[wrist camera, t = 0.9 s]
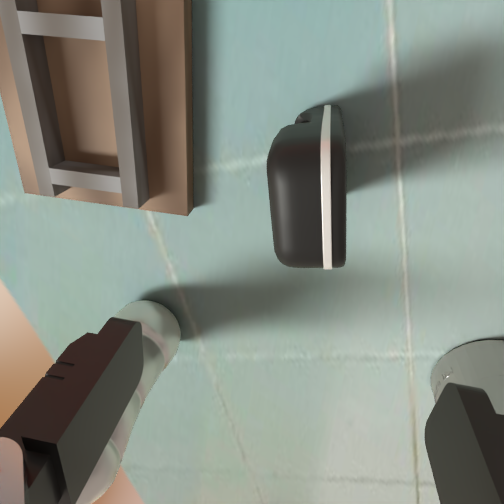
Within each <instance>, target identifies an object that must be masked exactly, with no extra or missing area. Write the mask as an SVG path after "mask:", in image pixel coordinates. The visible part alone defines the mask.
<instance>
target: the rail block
mask: <svg viewBox="0 0 504 504" xmlns="http://www.w3.org/2000/svg"><path fill="white" fill-rule="evenodd" d="M0 93H1V97H2V101H3V106H4V110H5V114H6V118H7V122H8V126H9V130H10V134H11V138H12V143H13V147H14V151H15V155H16V159H17V163H18V167H19V171H20V176H21V180H22V184H23V188H24V192H25V193H29V194H36V195H43V196H50V197H57V198H64V199H71V200H78V201H85V202H92V203H99V204H106V205H113V206H120V207H127V208H134V209H141V210H148V211H156V212H163V213H170V214H177V215H184V216H188V215H189V214H190V212H191V211H192V210H193V107H192V0H0Z"/></svg>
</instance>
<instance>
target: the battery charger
mask: <svg viewBox="0 0 504 504" xmlns="http://www.w3.org/2000/svg"><path fill="white" fill-rule="evenodd" d="M267 178H268V189H269V200H270V211H271V221H272V231H273V241H274V250H275V253H276V255H277V258H278V260H279V261H280V262H281V263H282V264H284V265H286V266H288V267H295V268H324V269H332V268H338V267H342V266H344V264H345V261H346V142H345V134H344V126H343V120H342V113H341V108H340V107H339V106H331V105H324V107H315V108H312V109H309V110H306V111H304V112H302V113H301V114H300V115H299V116H298V117H297V119H296V121H295V124H292V125H288V126H286V127H284V128H282V129H281V130H280V131H279V133H278V134H277V136H276V137H275V138H274V140H273V142H272V145H271V148H270V151H269V155H268V158H267Z"/></svg>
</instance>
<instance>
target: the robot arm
mask: <svg viewBox="0 0 504 504" xmlns="http://www.w3.org/2000/svg"><path fill="white" fill-rule="evenodd" d="M143 366H144V357H143V338H142V325H141V323H140V322H137V321H132V320H127V319H121V318H116V317H112V318H110V319H109V320H108V321H107V322H106V324H105V325H104V326H103V328H102V329H101V330H100V332H99V333H98V334H93V333H86V334H85V335H83V336H82V337H80V338H79V339H77V340H76V341H74V342H73V343H71V344H69V346H68V347H67V348H66V349H65V351H64V352H63V353H62V354H61V355H60V357H59V358H58V359H57V360H56V363H55V364H53V365H52V367H51V368H50V369H49V370H48V371H47V372H46V374H45V377H42V379H41V380H40V381H39V382H38V384H37V385H36V386H35V387H34V388H33V390H32V391H31V392H30V393H29V394H28V396H27V397H26V398H25V399H24V400H23V402H22V403H21V404H20V405H19V407H18V408H17V409H16V410H15V412H14V413H13V414H12V415H11V416H10V418H9V419H8V420H7V421H6V422H5V424H4V425H3V426H2V427H1V429H0V504H76V502H77V500H78V498H79V496H80V494H81V493H82V491H83V489H84V487H85V485H86V483H87V481H88V479H89V477H90V476H91V474H92V472H93V470H94V468H95V466H96V464H97V462H98V460H99V458H100V457H101V455H102V453H103V451H104V449H105V447H106V445H107V443H108V441H109V439H110V438H111V436H112V434H113V432H114V430H115V428H116V426H117V424H118V422H119V421H120V419H121V417H122V415H123V413H124V411H125V409H126V407H127V405H128V403H129V402H130V400H131V398H132V396H133V394H134V392H135V390H136V388H137V386H138V384H139V382H140V379H141V376H142V372H143ZM431 387H432V390H433V394H434V398H435V403H436V404H435V406H434V408H433V410H432V412H431V414H430V416H429V418H428V420H427V422H426V427H425V444H426V449H427V453H428V457H429V461H430V465H431V468H432V472H433V476H434V480H435V484H436V488H437V492H438V496H439V500H440V504H504V340H484V341H476V342H472V343H468V344H465V345H462V346H460V347H458V348H455V349H453V350H452V351H450V352H449V353H447V354H446V355H444V356H443V357H442V358H441V359H440V360H439V361H438V362H437V364H436V365H435V367H434V369H433V371H432V375H431Z"/></svg>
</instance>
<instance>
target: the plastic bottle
mask: <svg viewBox="0 0 504 504" xmlns="http://www.w3.org/2000/svg"><path fill="white" fill-rule="evenodd" d="M114 317H116V318H121V319H127V320H132V321H137V322H140V323H141V325H142V338H143V357H144V366H143V372H142V376H141V379H140V382H139V384H138V386H137V388H136V390H135V392H134V394H133V396H132V398H131V400H130V402H129V403H128V405H127V407H126V409H125V411H124V413H123V415H122V417H121V419H120V421H119V422H118V424H117V426H116V428H115V430H114V432H113V434H112V436H111V438H110V439H109V441H108V443H107V445H106V447H105V449H104V451H103V453H102V455H101V457H100V458H99V460H98V462H97V464H96V466H95V468H94V470H93V472H92V474H91V476H90V477H89V479H88V481H87V483H86V485H85V487H84V489H83V491H82V493H81V494H80V496H79V498H78V500H77V502H76V504H91V503H93V502H94V501H96V500H97V499H98V498H100V497H101V496H102V495H103V494H104V492H106V490H107V489H108V488H109V487H110V486H111V484H112V483H113V481H114V479H115V477H116V474H117V472H118V469H119V467H120V463H121V461H122V458H123V455H124V452H125V449H126V446H127V443H128V440H129V437H130V434H131V431H132V428H133V426H134V423H135V421H136V419H137V417H138V414H139V412H140V409H141V407H142V405H143V403H144V401H145V398H146V397H147V395H148V393H149V392H150V390H151V388H152V387H153V385H154V384H155V382H156V380H157V379H158V377H159V376H160V374H161V372H162V371H163V370H164V369H165V368H166V367H167V365H168V364H169V363H170V362H171V360H172V359H173V357H174V356H175V354H176V352H177V350H178V346H179V342H180V337H181V331H180V327H179V324H178V322H177V319H176V318H175V316H174V315H173V313H172V312H171V311H170V310H169V309H167V308H166V307H164V306H163V305H161V304H159V303H157V302H154V301H148V300H142V301H135V302H131V303H129V304H127V305H126V306H125V307H124V308H123V309H121V310H120V311H119V312H118V313H117V314H116V315H115V316H114Z"/></svg>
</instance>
